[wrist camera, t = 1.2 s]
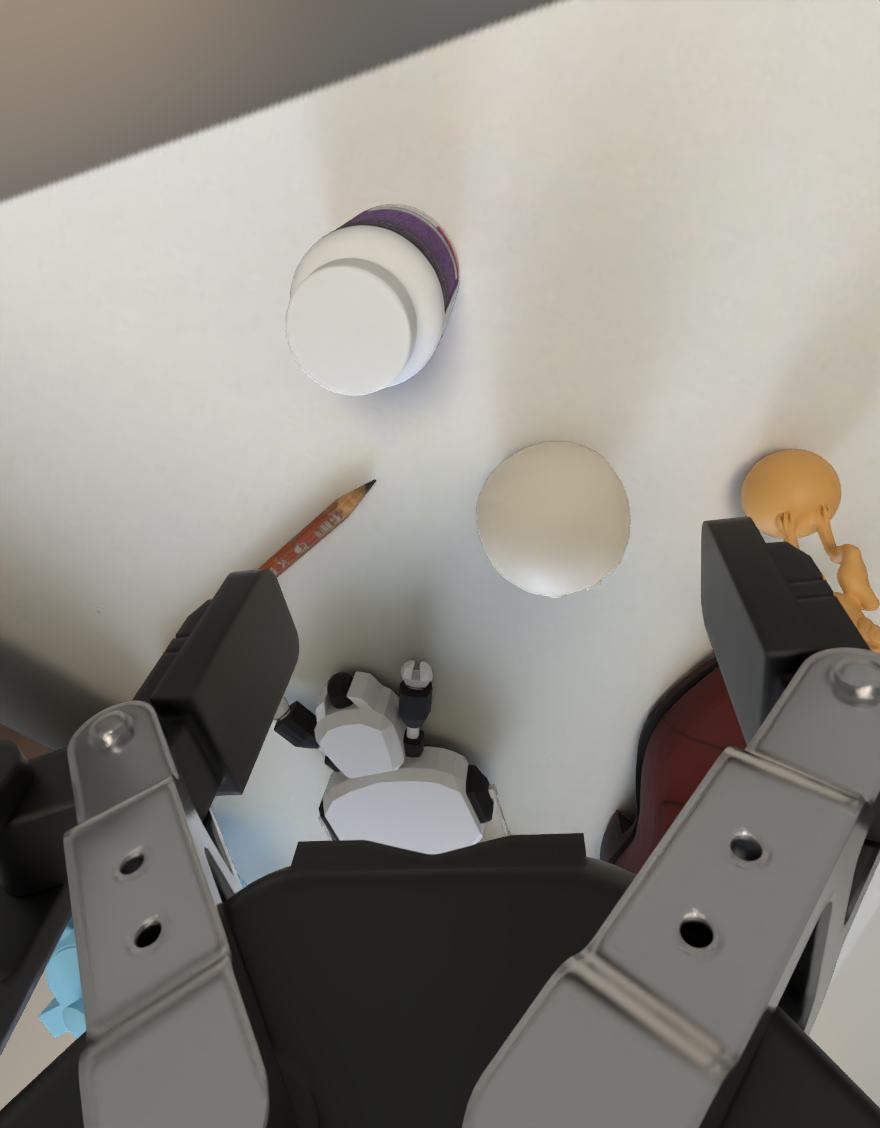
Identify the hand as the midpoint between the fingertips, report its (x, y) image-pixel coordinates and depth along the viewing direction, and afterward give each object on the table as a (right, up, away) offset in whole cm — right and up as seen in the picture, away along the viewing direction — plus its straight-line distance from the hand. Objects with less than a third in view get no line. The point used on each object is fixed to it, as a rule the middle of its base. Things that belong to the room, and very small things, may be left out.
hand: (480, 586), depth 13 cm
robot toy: (-4, -11, +32) cm, 34 cm away
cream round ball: (+5, +4, +21) cm, 22 cm away
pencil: (-11, 0, +26) cm, 28 cm away
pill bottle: (-3, +13, +17) cm, 21 cm away
